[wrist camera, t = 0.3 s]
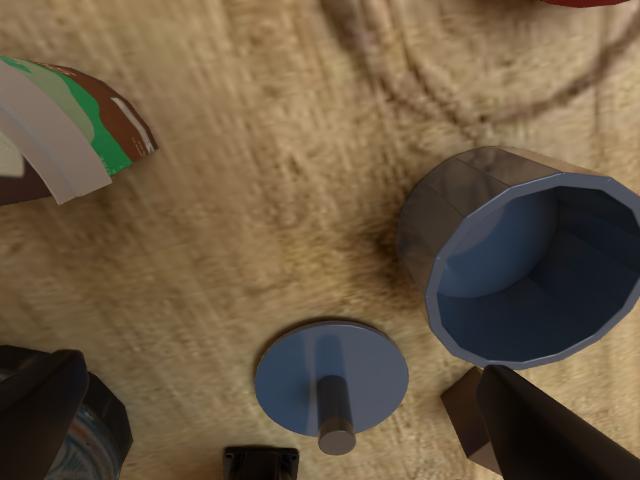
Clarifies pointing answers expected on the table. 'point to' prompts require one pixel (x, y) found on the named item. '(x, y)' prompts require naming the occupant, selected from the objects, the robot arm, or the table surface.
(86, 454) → the beer stein
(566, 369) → the table surface
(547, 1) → the apple
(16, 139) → the food container
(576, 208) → the tin
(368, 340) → the lid
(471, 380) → the block
